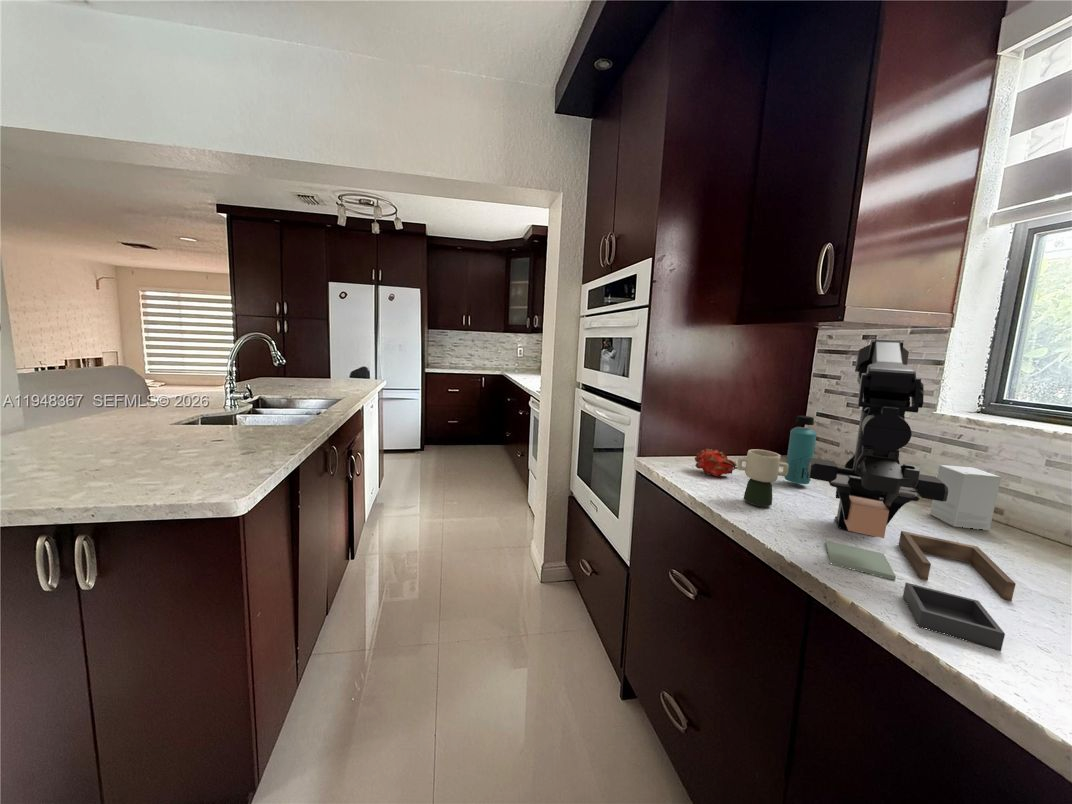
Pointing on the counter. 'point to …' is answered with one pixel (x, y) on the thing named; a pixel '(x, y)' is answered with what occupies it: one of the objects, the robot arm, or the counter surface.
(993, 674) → the counter surface
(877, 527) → the block
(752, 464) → the character mug
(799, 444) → the beverage bottle
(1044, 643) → the counter surface
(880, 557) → the mat
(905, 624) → the counter surface
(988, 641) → the tray
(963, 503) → the supplement box
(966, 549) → the stall
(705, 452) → the dragon fruit
